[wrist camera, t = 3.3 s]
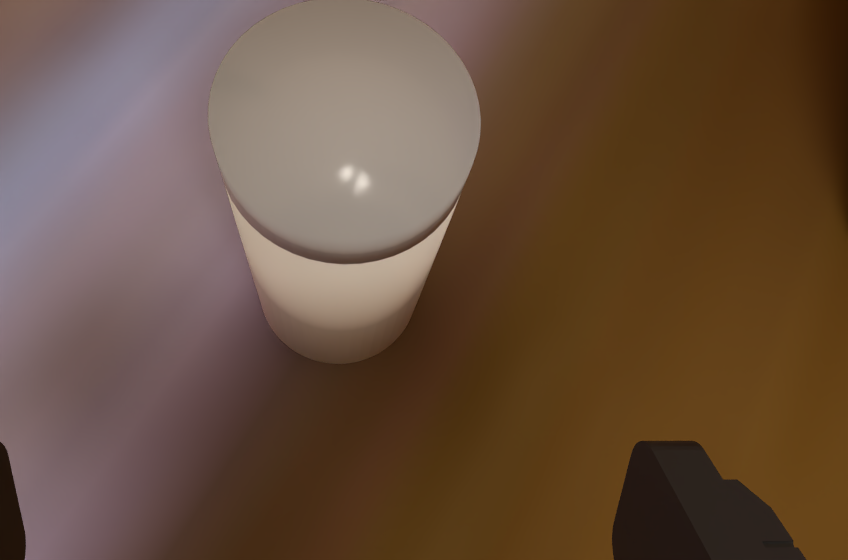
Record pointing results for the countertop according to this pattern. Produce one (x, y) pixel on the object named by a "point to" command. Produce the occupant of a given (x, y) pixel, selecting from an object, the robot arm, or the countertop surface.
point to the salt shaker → (342, 167)
